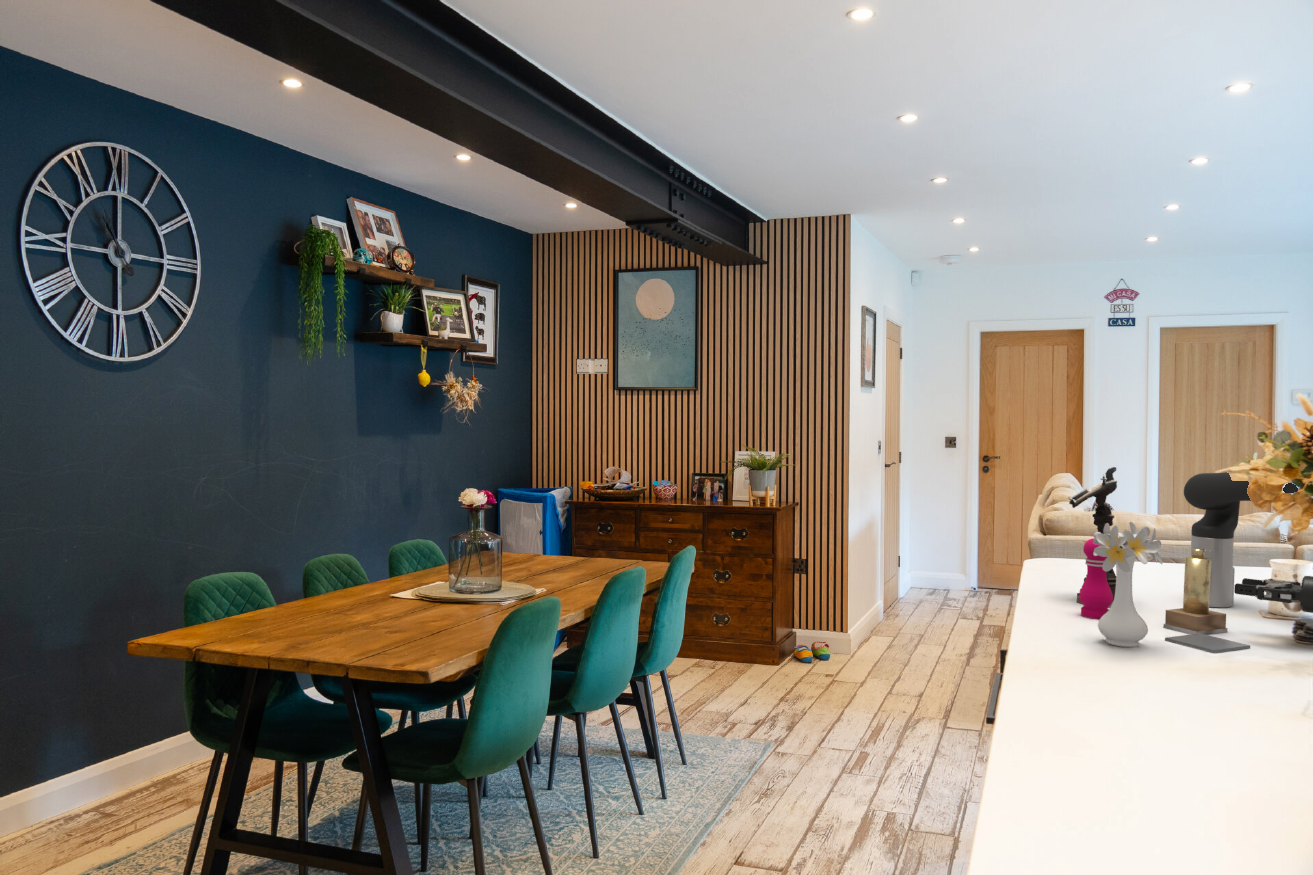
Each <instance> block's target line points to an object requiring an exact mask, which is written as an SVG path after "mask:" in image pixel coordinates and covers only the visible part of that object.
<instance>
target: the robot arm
mask: <svg viewBox="0 0 1313 875" xmlns="http://www.w3.org/2000/svg"><path fill="white" fill-rule="evenodd" d="M1227 472H1228V471H1226V472H1225V471H1224V472H1203V473H1201V472H1200V473H1197V474H1195V475H1193V476H1191V477H1190V478H1189V479H1188V480H1187V482H1186V483H1185V485H1184V487H1183V496H1184V499H1185V500H1186V501H1187V503H1188V504H1189V505H1190V506H1193V507H1194V508H1196V509H1199V510H1204V511H1205V513H1204V514H1203V516H1202V518H1201V519H1199V520H1198V521H1196V522H1194V523H1193V524H1192V525H1191V530H1190V531H1191V532H1190V533H1191V536H1190V541H1191V542H1190V556H1192V549H1193V548H1198V549H1205V558H1210V559H1211V576H1210V598H1209V608H1231V607H1232V606H1234V603H1235V602H1234V600H1235V599H1234V598H1235V597H1234V596H1235V595H1241V596H1248V597H1249V596H1250V597H1254V598H1256V599H1257V600H1259V601H1270V602H1277V603H1286V604H1291V603H1292V602H1293V601H1298V602H1300V609H1301V611H1302V612H1304V613H1310V614H1313V576H1312V575H1310V576H1309V575H1304V576H1303V577H1302V580H1301V582H1299V581H1290V580H1281V579H1273V578H1268V579H1267V578H1266V579H1255V578H1245V577H1244V578H1243V579H1242V580H1241V583H1235V572H1236V571H1235V567H1234V566H1233V565H1234V541H1235V540H1234V538H1235V531H1236V529H1237V527H1238V524H1239V516H1240V507H1241V506H1240V505H1241V502H1252V501H1251V500H1250V498H1249V496H1248V494H1247V488H1248V485H1249V482H1248V481H1232V480H1231V477H1230V475H1229V473H1227ZM1283 491H1284V492H1285V493H1294V492H1297V491H1298V488H1297V487H1296V485H1294V484H1292V483H1288V484H1286V485H1285V487H1284V488H1283Z"/></svg>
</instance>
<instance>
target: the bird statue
mask: <svg viewBox="0 0 1313 875" xmlns="http://www.w3.org/2000/svg"><path fill="white" fill-rule="evenodd" d="M1116 471H1117V467H1115V466H1113V467H1108V468H1107V470H1106V472H1105V473H1104V474H1102V478H1100V480H1101V482H1099V483H1098V484H1096V485H1094V486H1092V488H1085V489H1083V490H1081V491H1079V492H1078V493H1076V494H1075V495H1073V496H1068V497H1067V498H1068V499H1069V502H1068V504H1069V505H1071V506H1072V509H1075V508H1076V507H1078V506H1079V505H1080V504H1082V503H1084V502H1085V501H1087V500H1088V499H1090V498H1093V497H1094V498H1095V502H1096V504H1097V506H1096V507H1095V512H1094V513H1092V515H1091V516H1092V517H1093V525H1094V526H1096V527H1097V528H1096V529H1097V532H1100V533H1101V534H1104V532H1103V530H1104V526H1105V524H1106V523H1108V524H1109V526H1110V527H1113V526H1114V522H1113V520H1114V519H1115V515H1114V514H1112V509H1111V507H1110V506H1109V505H1107V504H1105V503H1106V501H1107V496H1109V495H1111V494H1112V493H1113V492H1115V491H1116V489H1117V488H1118V484H1117V483H1118V480H1116V479H1115V478H1114V475H1113V474H1114V473H1116ZM1086 577H1087V574H1086V575H1085V577H1084V578H1083V584H1084V582H1085V580H1086ZM1106 578H1107V582H1108V585H1109V587H1110V589H1111V592H1112V595H1113V601H1114V597H1115V589H1116V573H1115V571H1114V567H1113V568H1112V569H1111V570H1110V571H1106ZM1083 584H1082V585H1081V587H1082V586H1083ZM1080 590H1081V588H1080V589H1079V591H1080ZM1079 594H1080V592H1077V593H1076V603H1077V604H1080V605H1081V604H1082V602H1081V601H1080V599H1079ZM1112 604H1113V602H1112ZM1112 604H1111V605H1110V606H1109V607H1108V609H1110V608H1111V606H1112ZM1082 605H1083V604H1082Z"/></svg>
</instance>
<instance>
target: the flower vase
mask: <svg viewBox="0 0 1313 875" xmlns="http://www.w3.org/2000/svg"><path fill="white" fill-rule="evenodd" d="M1128 524H1129V529H1130V531H1129V530H1127V529H1124V530H1123V533H1122V532H1119V530H1120V529H1119V526H1118V525H1117V524H1113V525H1112V526H1109V524H1108V523H1106V524H1105V526H1104V530H1103V532H1104V534H1101V533H1100V534H1097V535H1096V538H1095V539H1094V540H1093V543H1094V544H1098V545H1100V546H1099V547H1097V548H1095V549H1094V553H1093V554H1094V556H1098V555H1099V556H1102V557H1107V558H1106V559H1105V561H1104V563H1103V566H1102V568H1103V570H1104V571H1110V570H1111V569H1112V568H1113V569H1114V567H1115V569H1116V573H1115V575H1116V589H1115V597H1114V601H1113V604H1112V606H1111V608H1108V609H1109V611H1108V612H1107V613H1105V614H1104V615H1103V616H1102V617H1101V618H1100V619H1098V623H1097V628H1098V631H1099V633H1100V634H1101V635H1102V636H1104V638H1105V642H1106V643H1107V644H1109V645H1113V646H1115V647H1122V648H1136V647H1138V646H1139V644H1140V641H1141V640H1143V639H1144V638H1145V637H1146V636H1147V635H1148V632H1149V629H1148V625H1147V623H1146V621H1145V620H1144V619H1143V617H1142V616H1141V615H1140V614H1139V613H1138V611H1137V610H1136V607H1135V603H1134V599H1133V598H1134V597H1133V596H1134V595H1133V572H1134V570H1133V569H1134V566H1135V561H1136V558H1137V559H1138V561H1139V562H1140V563H1142V564H1143V565H1146V564H1148V562H1149V560H1148V556H1147V554H1149V555H1150V556H1151V557H1152V558H1153V559H1154V560H1155V562H1156V563H1159V564H1161V565H1163V559H1162V557H1161V555H1160V553H1159V551H1160V549H1161V548H1162V542H1161V540H1160V539H1156V536H1157V531H1156V528H1155V527H1154V528H1153V529H1152V532H1151V528H1150V527H1148V526H1143V527H1141V528H1139V530H1138V528H1137V526H1136V524H1135V523H1134V522H1133V521H1129V523H1128ZM1111 527H1112V528H1111ZM1149 536H1150V537H1149ZM1148 537H1149V539H1148ZM1155 539H1156V540H1155Z"/></svg>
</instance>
